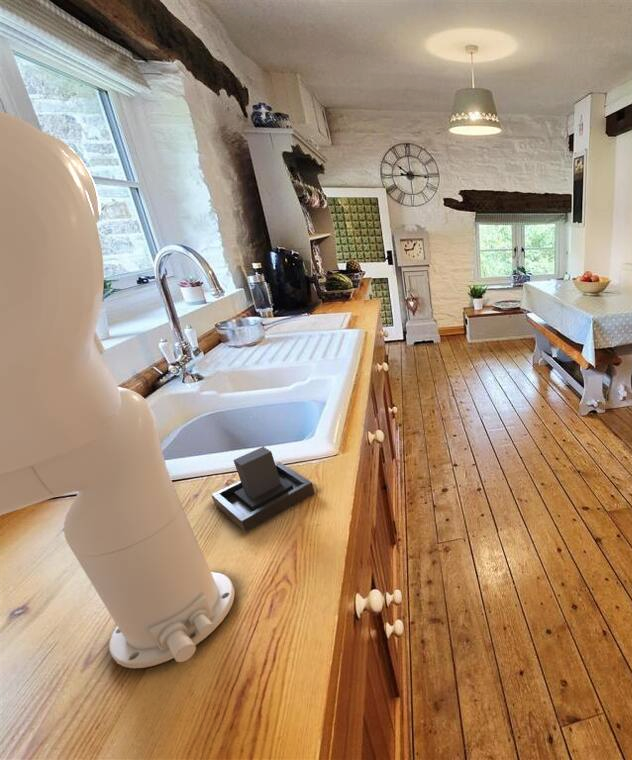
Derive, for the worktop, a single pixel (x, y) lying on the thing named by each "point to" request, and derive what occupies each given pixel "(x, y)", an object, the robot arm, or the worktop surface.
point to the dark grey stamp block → (259, 479)
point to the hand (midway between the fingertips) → (91, 393)
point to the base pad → (250, 518)
